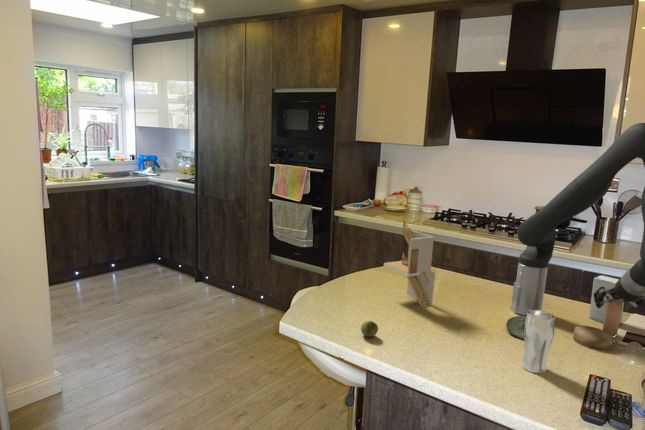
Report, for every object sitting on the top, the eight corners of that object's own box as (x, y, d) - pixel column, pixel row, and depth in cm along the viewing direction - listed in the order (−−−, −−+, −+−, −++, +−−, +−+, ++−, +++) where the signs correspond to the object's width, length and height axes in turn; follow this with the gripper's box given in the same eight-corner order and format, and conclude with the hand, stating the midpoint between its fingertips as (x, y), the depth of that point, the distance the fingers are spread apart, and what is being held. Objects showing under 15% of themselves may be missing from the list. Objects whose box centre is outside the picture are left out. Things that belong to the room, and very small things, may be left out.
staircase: (410, 311, 156) (417, 228, 151) (381, 295, 170) (387, 219, 165) (431, 307, 161) (439, 226, 156) (402, 292, 175) (408, 217, 170)
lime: (358, 335, 135) (359, 319, 134) (371, 332, 137) (372, 316, 136) (367, 341, 131) (368, 325, 130) (380, 338, 134) (381, 322, 133)
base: (579, 347, 134) (581, 337, 134) (568, 333, 144) (569, 324, 143) (617, 351, 133) (618, 342, 132) (602, 337, 142) (604, 328, 142)
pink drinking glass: (604, 336, 143) (611, 299, 141) (599, 330, 147) (605, 295, 145) (619, 338, 142) (626, 301, 140) (613, 332, 146) (620, 296, 144)
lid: (543, 332, 144) (545, 317, 143) (541, 344, 135) (543, 328, 134) (507, 324, 148) (509, 309, 148) (503, 335, 140) (505, 320, 139)
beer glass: (514, 361, 124) (521, 308, 121) (538, 361, 125) (546, 309, 122) (527, 374, 117) (535, 319, 114) (553, 374, 118) (562, 319, 115)
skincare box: (621, 323, 154) (629, 281, 151) (612, 327, 151) (620, 283, 148) (595, 314, 161) (602, 274, 158) (586, 317, 158) (593, 276, 155)
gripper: (660, 274, 132) (634, 298, 145) (606, 269, 135) (585, 293, 148) (666, 298, 128) (639, 320, 141) (611, 292, 130) (589, 315, 144)
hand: (612, 306), depth 144 cm, fingers open, 8 cm apart
